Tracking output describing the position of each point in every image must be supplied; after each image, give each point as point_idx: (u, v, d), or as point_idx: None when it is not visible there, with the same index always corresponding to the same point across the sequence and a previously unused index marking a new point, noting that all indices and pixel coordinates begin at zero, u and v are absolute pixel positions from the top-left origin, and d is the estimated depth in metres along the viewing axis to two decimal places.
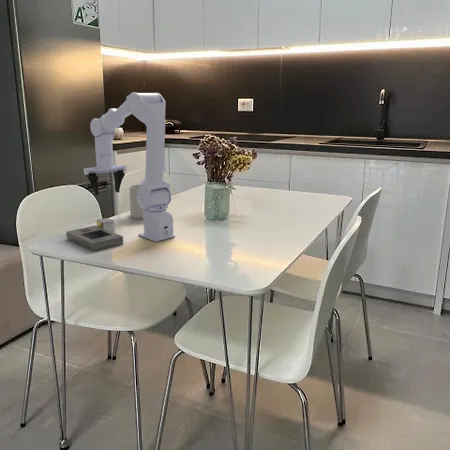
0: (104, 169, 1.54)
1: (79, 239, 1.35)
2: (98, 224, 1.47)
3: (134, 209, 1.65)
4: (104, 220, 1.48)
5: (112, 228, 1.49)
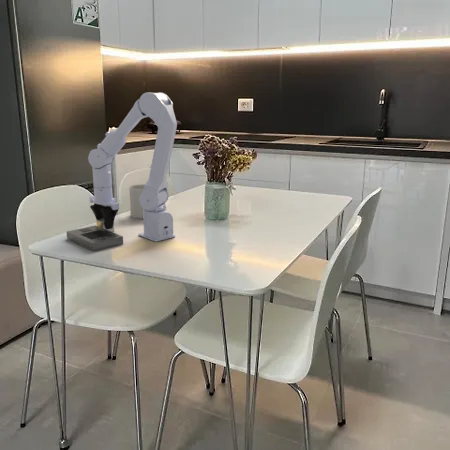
0: (94, 201, 1.46)
1: (79, 239, 1.35)
2: (98, 224, 1.47)
3: (134, 209, 1.65)
4: None
5: (112, 228, 1.49)
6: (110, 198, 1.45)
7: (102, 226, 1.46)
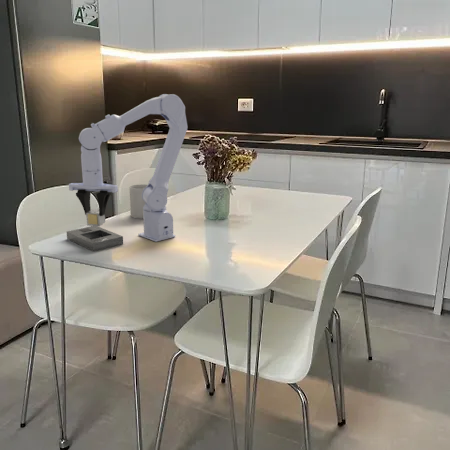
0: (84, 187, 1.32)
1: (79, 239, 1.35)
2: (91, 217, 1.35)
3: (134, 209, 1.65)
4: (95, 211, 1.37)
5: (104, 218, 1.39)
6: (102, 181, 1.35)
7: (98, 218, 1.35)
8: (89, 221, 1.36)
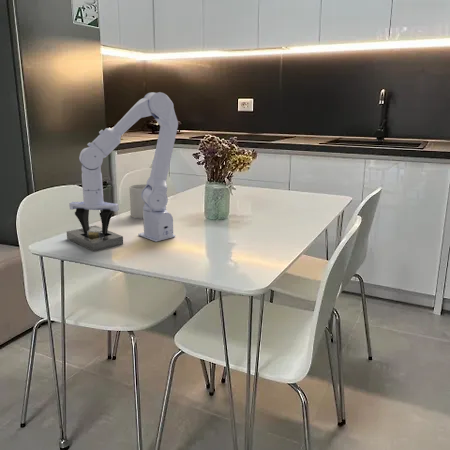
0: (85, 206, 1.33)
1: (79, 239, 1.35)
2: (92, 235, 1.36)
3: (134, 209, 1.65)
4: (96, 230, 1.38)
5: None
6: (103, 200, 1.36)
7: (99, 236, 1.36)
8: None
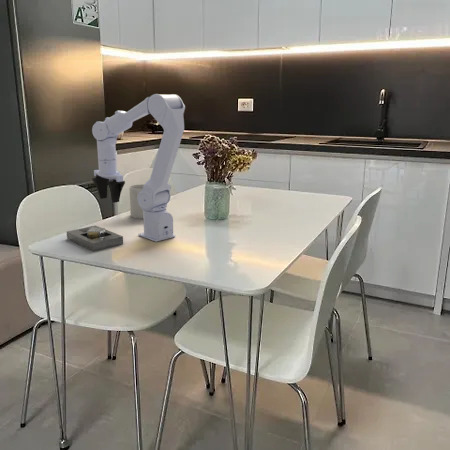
0: (98, 174, 1.48)
1: (79, 239, 1.35)
2: (92, 235, 1.36)
3: (134, 209, 1.65)
4: (96, 230, 1.38)
5: None
6: (114, 171, 1.47)
7: (99, 236, 1.36)
8: None
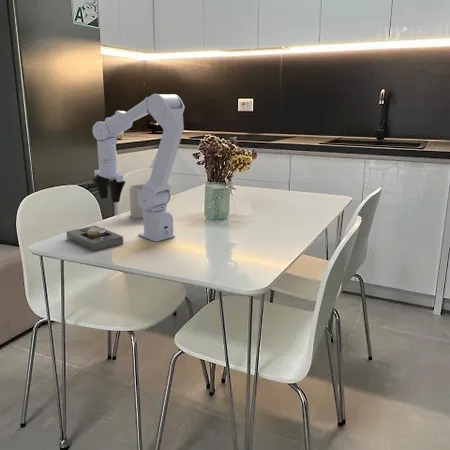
0: (98, 174, 1.48)
1: (79, 239, 1.35)
2: (92, 235, 1.36)
3: (134, 209, 1.65)
4: (96, 230, 1.38)
5: None
6: (114, 171, 1.48)
7: (99, 236, 1.36)
8: None
